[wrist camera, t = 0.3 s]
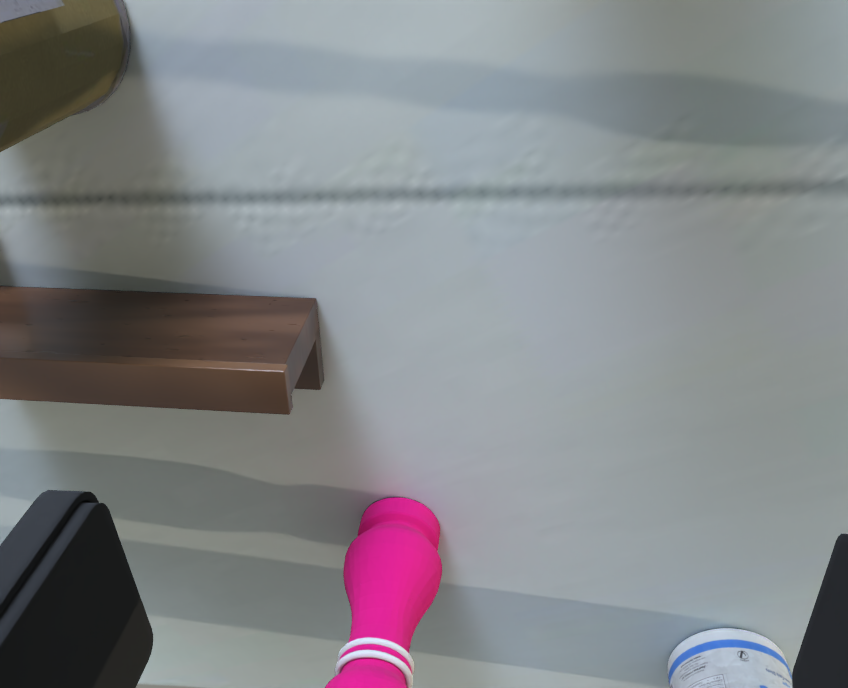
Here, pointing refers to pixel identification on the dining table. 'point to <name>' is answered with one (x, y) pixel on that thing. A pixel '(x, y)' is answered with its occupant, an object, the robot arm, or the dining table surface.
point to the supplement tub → (728, 661)
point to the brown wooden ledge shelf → (158, 349)
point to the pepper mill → (388, 592)
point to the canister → (57, 61)
